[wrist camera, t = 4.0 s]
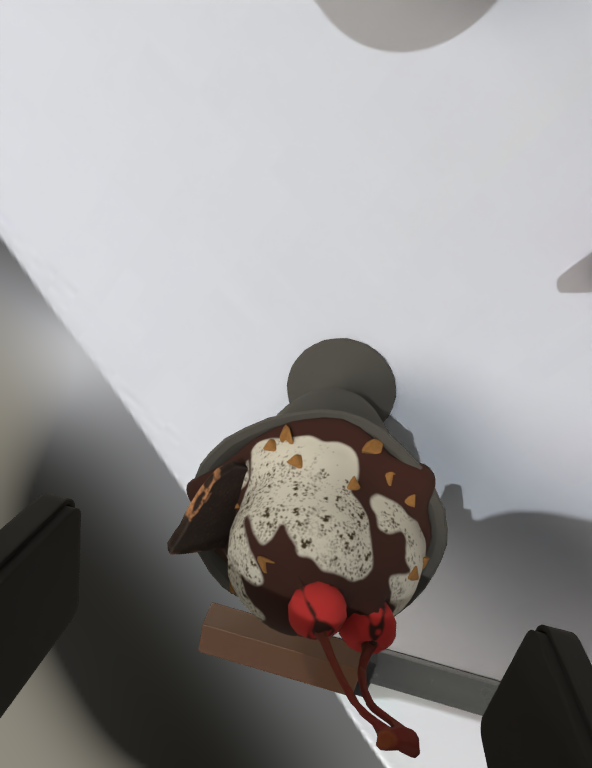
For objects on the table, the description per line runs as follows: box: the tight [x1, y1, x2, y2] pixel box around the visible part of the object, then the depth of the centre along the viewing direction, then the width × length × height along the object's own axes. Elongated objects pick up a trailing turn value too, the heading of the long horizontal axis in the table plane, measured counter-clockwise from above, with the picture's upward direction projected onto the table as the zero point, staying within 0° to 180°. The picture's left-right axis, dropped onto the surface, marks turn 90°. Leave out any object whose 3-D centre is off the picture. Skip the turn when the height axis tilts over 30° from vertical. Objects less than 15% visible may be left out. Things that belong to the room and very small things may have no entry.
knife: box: [199, 603, 500, 716], centre depth 26 cm, size 23×3×2 cm, turn 79°
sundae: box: [167, 338, 447, 758], centre depth 14 cm, size 7×7×15 cm
